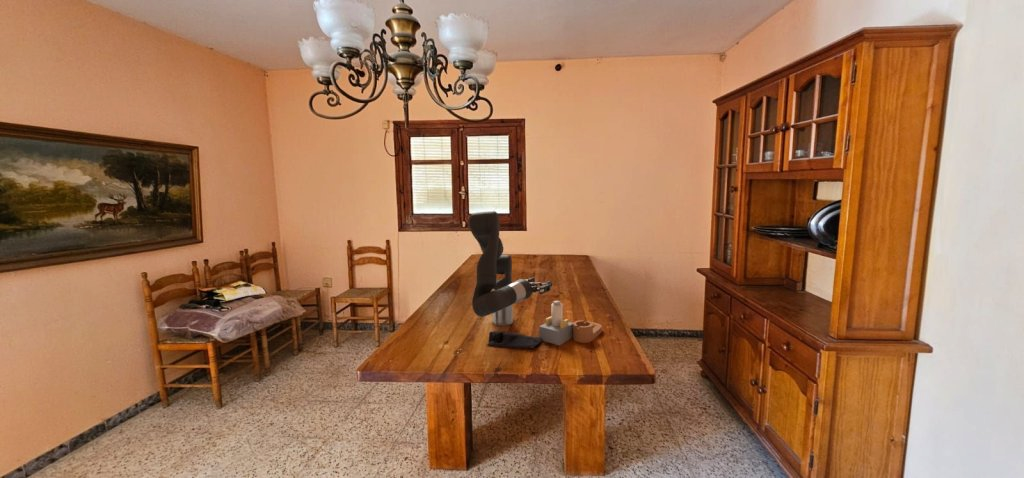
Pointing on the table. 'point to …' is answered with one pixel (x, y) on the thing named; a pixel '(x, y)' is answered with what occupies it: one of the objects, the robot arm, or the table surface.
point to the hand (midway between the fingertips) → (542, 281)
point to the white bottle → (556, 313)
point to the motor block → (556, 332)
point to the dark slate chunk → (512, 340)
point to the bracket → (585, 331)
